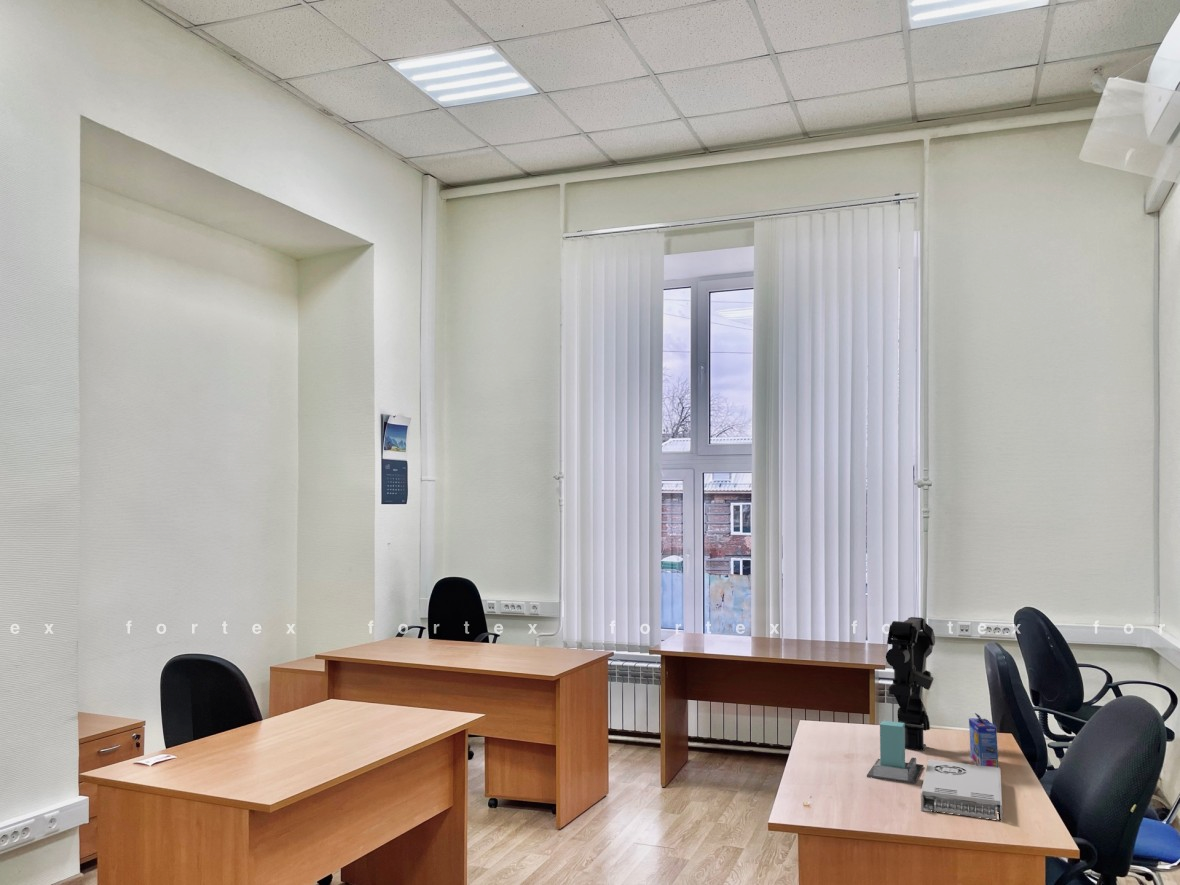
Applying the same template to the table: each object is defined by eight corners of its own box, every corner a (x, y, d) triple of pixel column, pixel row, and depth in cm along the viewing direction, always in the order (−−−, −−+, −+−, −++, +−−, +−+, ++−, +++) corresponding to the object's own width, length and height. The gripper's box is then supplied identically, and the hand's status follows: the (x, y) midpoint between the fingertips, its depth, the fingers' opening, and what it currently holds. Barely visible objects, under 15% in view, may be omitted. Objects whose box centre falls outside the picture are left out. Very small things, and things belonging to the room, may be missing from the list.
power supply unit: (920, 813, 228) (920, 793, 228) (928, 777, 258) (928, 759, 258) (1002, 824, 220) (1002, 804, 220) (1000, 786, 250) (1000, 767, 250)
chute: (878, 760, 271) (877, 748, 272) (923, 766, 265) (923, 754, 266) (866, 776, 255) (866, 764, 256) (914, 783, 249) (914, 770, 250)
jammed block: (883, 769, 260) (882, 720, 261) (905, 772, 257) (904, 722, 258) (880, 774, 255) (879, 724, 256) (902, 777, 253) (901, 726, 254)
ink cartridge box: (968, 758, 275) (967, 710, 276) (987, 758, 274) (986, 710, 275) (979, 767, 265) (978, 718, 266) (999, 768, 264) (997, 718, 265)
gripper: (927, 669, 266) (928, 723, 265) (934, 660, 283) (935, 710, 282) (888, 666, 271) (889, 718, 270) (898, 657, 288) (898, 706, 287)
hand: (904, 713), depth 277 cm, fingers closed
